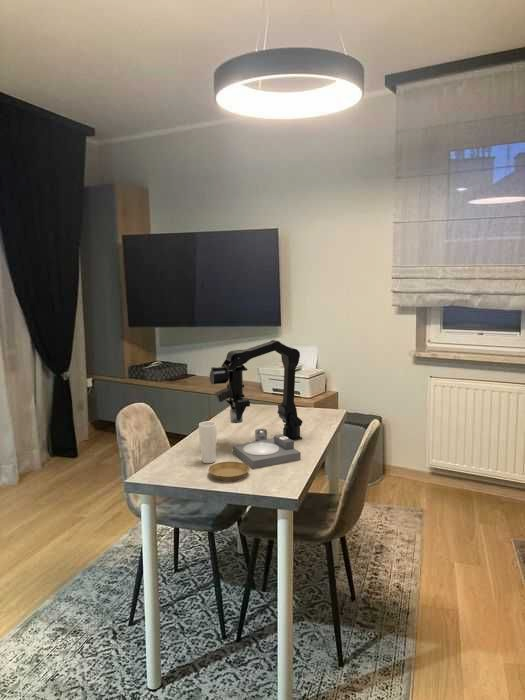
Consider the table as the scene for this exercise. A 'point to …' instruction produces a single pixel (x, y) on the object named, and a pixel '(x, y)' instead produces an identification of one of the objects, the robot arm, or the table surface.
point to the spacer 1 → (234, 416)
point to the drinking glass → (208, 441)
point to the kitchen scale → (267, 452)
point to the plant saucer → (229, 470)
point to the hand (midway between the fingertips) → (236, 419)
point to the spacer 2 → (260, 434)
